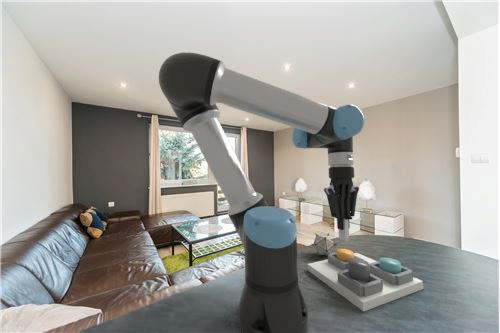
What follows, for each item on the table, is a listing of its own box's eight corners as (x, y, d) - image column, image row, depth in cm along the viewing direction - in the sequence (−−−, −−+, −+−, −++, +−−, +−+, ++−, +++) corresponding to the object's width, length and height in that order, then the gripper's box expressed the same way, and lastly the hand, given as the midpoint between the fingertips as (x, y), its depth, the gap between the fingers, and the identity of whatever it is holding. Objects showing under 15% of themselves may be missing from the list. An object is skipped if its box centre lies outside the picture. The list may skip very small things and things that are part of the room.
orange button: (345, 267, 57) (345, 256, 57) (333, 260, 61) (332, 250, 62) (357, 264, 58) (357, 253, 59) (344, 258, 63) (344, 247, 63)
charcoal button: (360, 283, 45) (359, 268, 46) (343, 273, 50) (343, 260, 50) (375, 278, 47) (374, 264, 47) (357, 269, 52) (356, 256, 52)
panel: (363, 311, 42) (362, 291, 42) (307, 270, 61) (307, 256, 61) (423, 288, 50) (422, 272, 50) (357, 258, 68) (356, 246, 68)
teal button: (394, 280, 49) (393, 267, 50) (375, 271, 54) (374, 259, 54) (406, 276, 51) (405, 263, 51) (387, 268, 56) (386, 256, 56)
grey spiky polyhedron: (326, 263, 73) (336, 239, 76) (333, 264, 65) (343, 239, 68) (305, 249, 76) (315, 227, 79) (309, 250, 68) (320, 225, 71)
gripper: (334, 165, 55) (337, 246, 54) (365, 165, 60) (369, 240, 58) (317, 166, 62) (319, 238, 61) (346, 167, 67) (349, 233, 65)
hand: (344, 239), depth 60 cm, fingers closed
